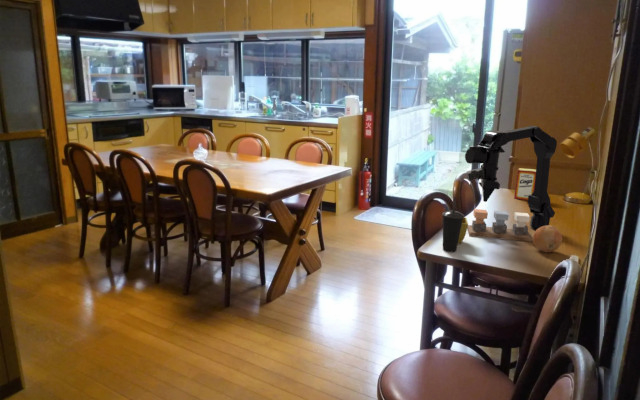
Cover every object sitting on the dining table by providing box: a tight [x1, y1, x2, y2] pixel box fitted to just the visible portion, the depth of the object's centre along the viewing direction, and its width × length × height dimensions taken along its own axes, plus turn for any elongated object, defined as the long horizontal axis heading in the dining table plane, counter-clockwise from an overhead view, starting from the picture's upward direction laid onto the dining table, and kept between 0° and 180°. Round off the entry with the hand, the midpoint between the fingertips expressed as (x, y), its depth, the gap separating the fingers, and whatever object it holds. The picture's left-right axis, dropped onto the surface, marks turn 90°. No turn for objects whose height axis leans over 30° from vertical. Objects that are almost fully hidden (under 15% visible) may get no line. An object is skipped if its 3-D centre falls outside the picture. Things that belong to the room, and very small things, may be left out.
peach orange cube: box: [473, 208, 489, 224], centre depth 194 cm, size 5×5×5 cm
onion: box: [532, 224, 563, 253], centre depth 176 cm, size 10×10×10 cm
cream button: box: [513, 211, 531, 228], centre depth 191 cm, size 5×5×5 cm
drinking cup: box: [441, 196, 465, 253], centre depth 173 cm, size 8×8×20 cm
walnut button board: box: [467, 219, 533, 242], centre depth 194 cm, size 24×10×4 cm, turn 79°
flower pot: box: [458, 216, 469, 245], centre depth 183 cm, size 9×9×9 cm
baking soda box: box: [513, 167, 536, 201], centre depth 255 cm, size 10×6×16 cm
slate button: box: [493, 210, 510, 226], centre depth 193 cm, size 5×5×5 cm
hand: (484, 201), depth 192 cm, fingers closed
